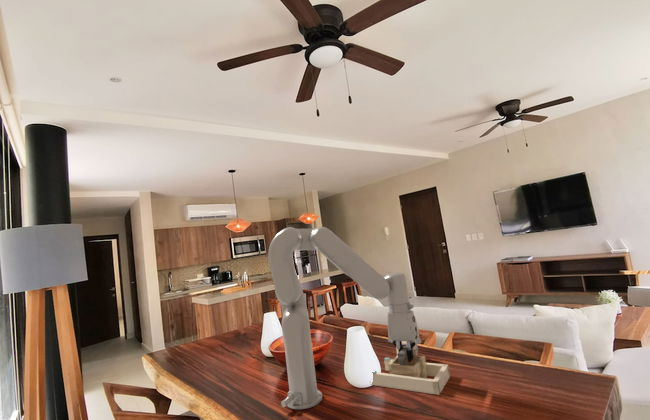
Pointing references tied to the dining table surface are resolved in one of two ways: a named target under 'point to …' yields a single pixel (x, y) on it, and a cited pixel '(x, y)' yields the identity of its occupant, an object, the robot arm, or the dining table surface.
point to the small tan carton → (408, 365)
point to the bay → (414, 379)
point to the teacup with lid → (415, 348)
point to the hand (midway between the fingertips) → (406, 359)
